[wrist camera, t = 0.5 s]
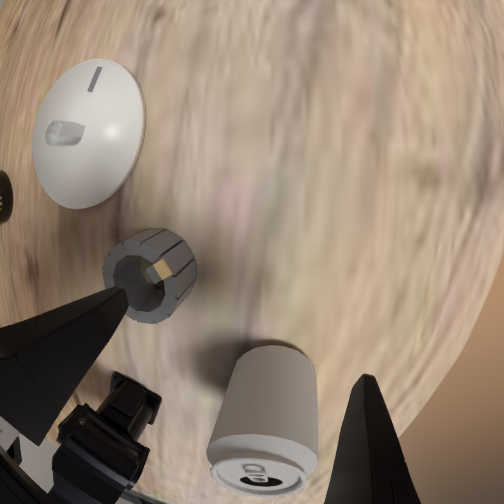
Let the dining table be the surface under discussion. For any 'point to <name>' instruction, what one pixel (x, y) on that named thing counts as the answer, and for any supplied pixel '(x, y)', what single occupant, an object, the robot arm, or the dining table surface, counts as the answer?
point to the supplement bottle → (5, 198)
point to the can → (267, 424)
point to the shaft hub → (89, 133)
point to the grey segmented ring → (151, 273)
